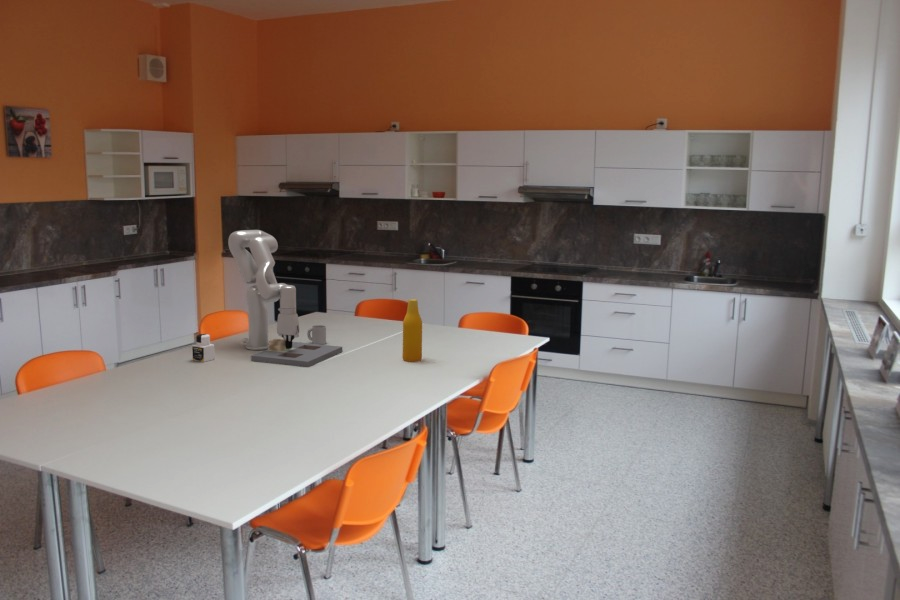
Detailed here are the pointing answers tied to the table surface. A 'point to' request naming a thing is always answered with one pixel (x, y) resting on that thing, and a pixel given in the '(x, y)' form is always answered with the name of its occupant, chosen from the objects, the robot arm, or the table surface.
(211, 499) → the table surface
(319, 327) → the cup
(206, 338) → the medicine bottle
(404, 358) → the beer bottle
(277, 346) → the beech block
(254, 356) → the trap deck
